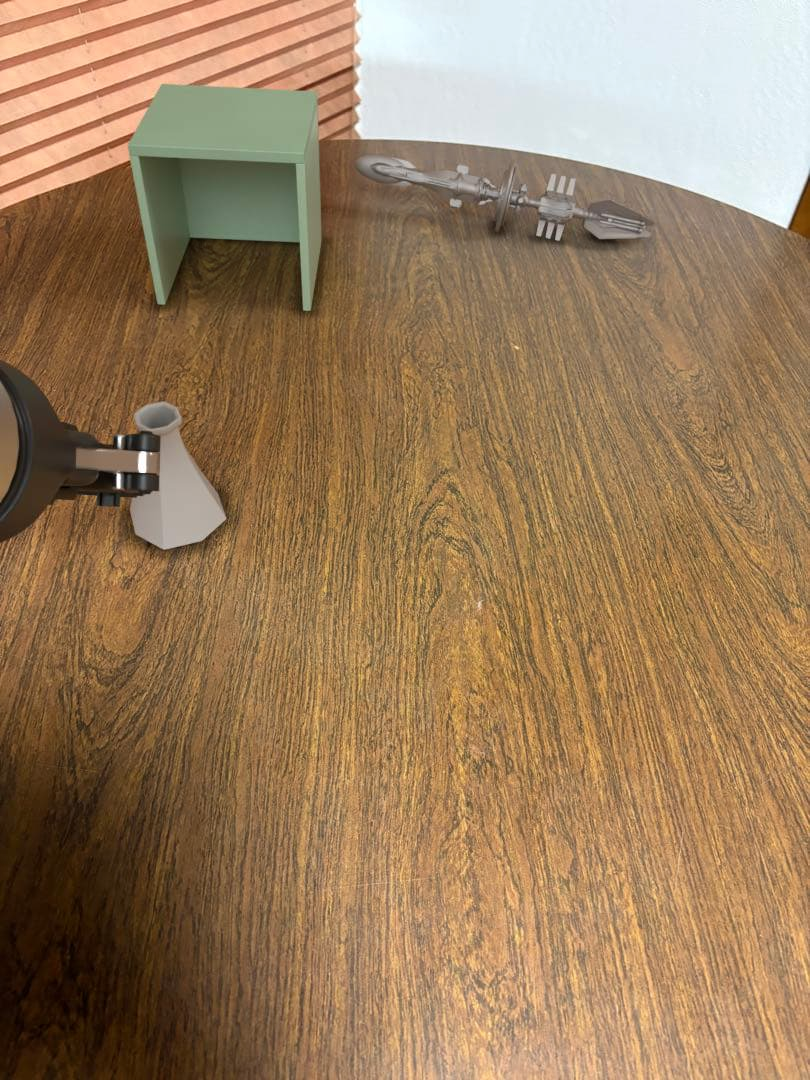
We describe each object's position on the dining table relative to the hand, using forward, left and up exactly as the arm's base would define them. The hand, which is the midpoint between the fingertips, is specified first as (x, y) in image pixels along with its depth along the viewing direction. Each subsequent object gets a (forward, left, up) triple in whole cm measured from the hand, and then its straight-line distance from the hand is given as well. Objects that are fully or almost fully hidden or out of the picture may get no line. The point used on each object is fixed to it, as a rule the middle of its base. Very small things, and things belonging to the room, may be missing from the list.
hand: (125, 475), depth 53 cm
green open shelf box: (-23, +39, -12) cm, 47 cm away
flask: (-4, +7, -12) cm, 15 cm away
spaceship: (-4, +64, -12) cm, 65 cm away
